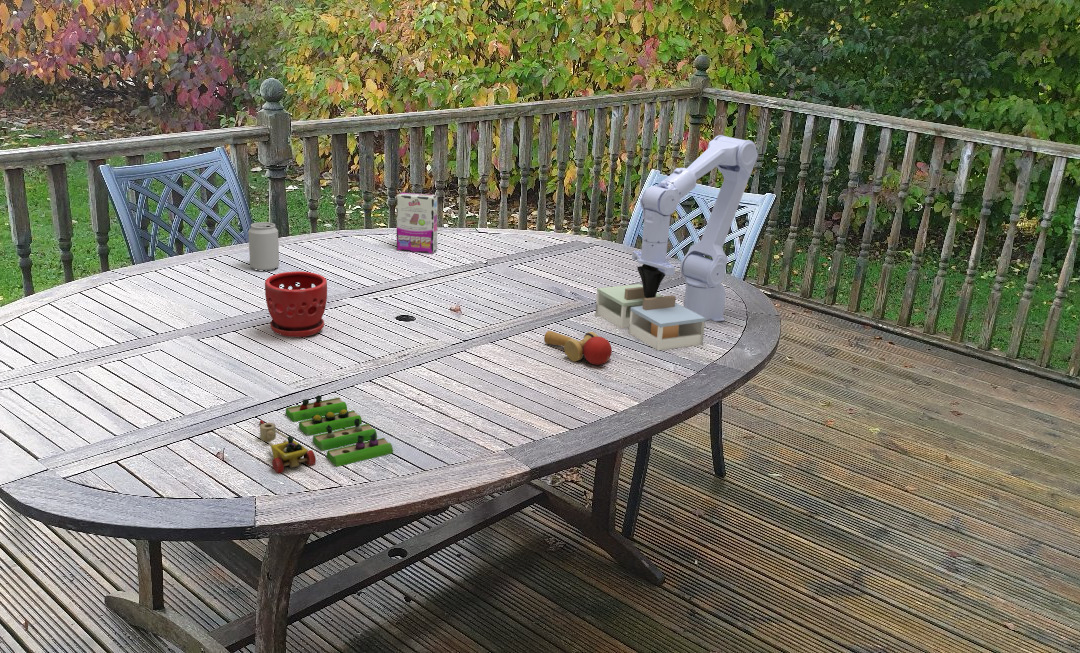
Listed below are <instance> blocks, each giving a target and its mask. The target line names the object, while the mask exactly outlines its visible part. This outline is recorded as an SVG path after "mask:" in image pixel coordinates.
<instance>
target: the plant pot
mask: <svg viewBox="0 0 1080 653" xmlns="http://www.w3.org/2000/svg"><path fill="white" fill-rule="evenodd" d="M297 283H299V286H298V285H297ZM281 285H283V288H280V286H281ZM312 285H314V287H313V286H312ZM290 287H291V289H289V288H290ZM264 291H265V292H264V293H265V301H266V302H265V303H266V306H267V310H268V313H269V316H270V317H271V319H272V320H271V321H270V322H269V327H270V328H271V330H272V331H273V332H274V333H276V334H277V335H280V336H282V337H287V338H305V337H310V336H313V335H316V334H318V333H319V332H320V331H322V330H323V328H324V327H325V321H324V319H323V317H324V313H325V310H326V307H327V300H328V281H327V278H325V277H324V276H323V275H321V274H318V273H315V272H311V271H299V270H297V271H286V272H280V273H279V272H278V273H275V274H273V275H270V276H269V277H267V278H265V282H264Z"/></svg>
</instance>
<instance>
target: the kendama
mask: <svg viewBox="0 0 1080 653" xmlns="http://www.w3.org/2000/svg"><path fill="white" fill-rule="evenodd" d="M543 338H544V339H543V340H544V342H545V343H546V345H553V346H558V347H559V346H560V347H563V350H564V353H565V354H566V357H567V358H568V359H569V360H570V361H572V362H578V361H580V360H582V359H583V356H584V358H585V360H586V361H587V362H588V363H590V364H592V365H594V366H600V365H604V364H606V363H607V362H608V361H609V359H610V358H611V356H612V353H613V351H612V345H611V343H610V342H609V341H608V339H606V338H605V337H603V336H599V335H598V334H597V333H595V332H594V331H588V332H587V333H585V334H584V336H583V338H582V339H580V340H577V339H575V338H573V337H570V336H566V335H564V334H561V333H557V332H555V331H552V330H547V331H546V332H545V334H544V337H543Z"/></svg>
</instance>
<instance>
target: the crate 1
mask: <svg viewBox="0 0 1080 653" xmlns="http://www.w3.org/2000/svg"><path fill="white" fill-rule="evenodd" d="M595 303H596V304H595V315H594V316H595V317H602V318H604V320H607V321H609V322H610V323H611V324H613V325H615V326H617V327H618V328H620V329H629V322H630V311H631V307H637V306H643V304H642V305H633V306H624V307H623V306H622V305H620V304H618V303H616V302H615V301H613V300H611V299H609V298H607V297H606V296H604V295H602V294H600V293H599V292H597V291H596V302H595Z"/></svg>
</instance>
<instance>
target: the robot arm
mask: <svg viewBox="0 0 1080 653" xmlns="http://www.w3.org/2000/svg"><path fill="white" fill-rule="evenodd" d="M758 158H759V154H758V150H757V146H756V144H755V143H754V141H753V140H750V139H746V140H745V139H740V138H735V137H731V136H730V137H729V136H726V135H723V134H718V135H716V136H715V137H714V138H713V139H712V140H710V141H709V142H708V145H707V149H706V150H705V151H704V152H702V154H701V155H700V156H698V157H697V158H696V159H695V160H694V161H693V162H691V164H690V165H688V167H687V168H686V167H676V168H675V169H674V170H673V172H672V173H671V174H670V175H668V176H667V177H665V179H663V180H661V181H660V182H659V183H658V184H657V185H651V186H649V187H647V188H645V189H644V191H643V193H642V195H641V197H640V198H639V204H640V207H641V208H642V216H643V218H644V220H643V229H642V232H643V233H642V242H641V250H633V251H632V255H631V259H632V260H633V261H636V263H637V264H640V265H639V266H637V268H636V269H637V272H638V274H639V276H640V279H641V283H642V284H641V285H642V286H643V290H644V296H645V297H646V298H653V297H655V296H656V293H658V290H659V288H660V285H661V283H662V281H663V279H664V278H665V277H666V276H667V277H668V276H669V277H670V276H675V272H676V271H675V270H676V266H674V265H673V264H671V262H669V261H668V259H667V255H668V254H667V253H668V245H669V244H668V242H669V233H670V225H671V224H670V223H671V214H674V213H675V211H676V209H677V207H678V204H679V203H680V202H681V200H682V199H683V198H685V196H687V195H688V194H689V193H690V192H692V191H693V190H694V189H695V188H696V186H697V180H699V179H700V178H702V177H703V176H705V175H707V174H708V173H709V172H711V171H712V170H713V169H715V168H717V170H718V171H719V172H720V173H721V174H722V177H723V181H722V183H721V187H720V189H719V192H718V194H717V197H716V200H715V202H714V205H713V208H712V210H711V213H710V217H709V218H708V221H707V223H706V226H705V229H704V231H703V233H702V237H701V239H700V241H698V242H696V243H694V244H692V245H690V247H689V249H688V251H687V253H686V254H685V255H684V257H682V258H683V259H682V260H681V262H680V267H679V268H680V273H681V275H682V276H683V281H684V282H685V290H684V300H683V307H685V308H687V309H689V310H691V311H693V312H695V313H697V314H699V315H701V316H702V317H704V318H705V321H709V320H712V321H713V322H715V323H716V322H717V323H718V322H723V321H725V320H726V319H725V318H724V313H725V312H724V310H725V304H726V288H725V287H724V285H723V284H722V282H723V280H724V278H725V276H726V270H727V269H726V266H727V263H728V261H729V259H728V257H727V255H726V253H725V251H724V250H723V247H724V244H725V241H726V239H727V237H728V234H729V232H730V229H731V226H732V223H733V221H734V218H735V217H736V216H735V215H736V213H737V211H738V208H739V205H740V203H741V199H742V198H743V195H744V192H745V191H746V187H747V184H748V182H749V179H750V178H751V175H752V172H753V169H754V168H755V164H756V162H757V160H758Z"/></svg>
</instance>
